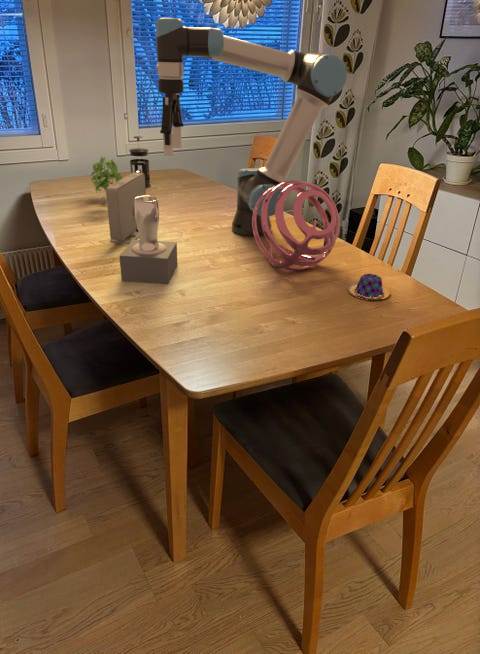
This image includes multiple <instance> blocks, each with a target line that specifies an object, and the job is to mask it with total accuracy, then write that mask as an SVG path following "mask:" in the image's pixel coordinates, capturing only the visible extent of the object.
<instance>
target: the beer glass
mask: <svg viewBox="0 0 480 654" xmlns="http://www.w3.org/2000/svg"><path fill="white" fill-rule="evenodd" d="M134 200H135V203H134V210H135V220H136V225H137V229H136V230H137V231H138V232H139V238H138V240H139V250H140V251H142V252H155V251H157V250H159V243H158V241H159V240H158V230H159V224H160V207H159V200H158V197H156V196H154V195H146V196H139V197H136V198H135V199H134Z"/></svg>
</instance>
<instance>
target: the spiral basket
mask: <svg viewBox="0 0 480 654" xmlns="http://www.w3.org/2000/svg"><path fill="white" fill-rule="evenodd" d="M303 187H307V188H308V189H305V188H303ZM277 189H283V191H282V192H281V193H280V195H279V197H278V199H277V202H276V206H275V215H274V218H275V223H276V226H277V229H278V231H279V233H280V235H281V237H282V239H283V240H284V241H285V242H286V243H287V245H289V247H291V248H292V249H293V250H291V249H289V248H287V247H285V246H284V245H283V244H278V243H277V241H276V240H275V238H274V236H273V234H272V231H271V232H270V229H269V225H268V219H267V210H268V205H269V201H270V199H271V197H272V195H273V194H274V192H275V191H276V190H277ZM292 191H294V192H296V193H298V194H297V196H296V198H295V199H294V202H293V204H292V215H293V220H294V221H295V224H296V227H298V229H299V231H300V232H302V233H303V235H305V237H304V238H303V240H302V241H298V240H297V239H296V238H295V237H294V236H293V234H292V233H291V231H290V230H289V228H288V226H287V223H286V220H285V215H284V207H285V202H286V200H287V197H288V196H289V194H290V193H291V192H292ZM265 196H266V197H265ZM264 197H265V199H264V201H263V204H262V208H261V225H262V230H263V233H264V235H263V236H264V238H265V241H266V242H267V243H268V245H269V250H267V249H266V247H265V246H264V243H263V242H262V240H261V238H260V237H261V236H259V234H258V230H257V223H256V217H257V210H258V207H259V204H260V202H261V201H262V199H263V198H264ZM316 197H317V198H320V199H321V200H322V201H323V202H324V203H325V205H326V207H327V209H328V211H329V213H330V216H331V217H330V221H329V219H328V216H327V213H326V211H325V209H324V207H323V206H322V204H321V203H320V201H319V200H318V199H317V198H316ZM306 200H308V202H309V201H310V203H312V205H313V206H314V208H315V209H316V211H317V212H318V214H319V217H320V219H321V223H322V227H323V229H322V230H318V229H316V228H317V227H316V226H317V220H315V221H314V222H313V224H312V225H311V226H310V225H308V224H307V222H306V220H305V218H304V216H303V204H304V203H305V201H306ZM340 225H341V224H340V215H339V212H338V209H337V206H336V203H335V202H334V200H333V198H332V197H331V196H330V195H329V194H328V193H327V191H325V190H324V189H323V188H322V187H320V186H319V185H317V184H315V183H311V182H308V181H303V180H298V179H297V180H296V179H291V180H287V181H285V182H282V183H279V184H278V185H276V186H274V187H272V188H270V189H268V190H267V191H266V192H265V193H264V194H263V195H262V196H261V197H260V198H259V200H258V201H257V203H256V205H255V208H254V211H253V216H252V228H253V233H254V236H253V237H254V240H255V242H256V244H257V246H258V248H259V249H260V251H261V253H262V254H263V255H264V257H266V258H267V259H268V261H269V263H270V264H271V266H272V267H275V268H277V269H283V270H287V271H292V272H293V271H294V272H295V271H296V272H297V271H298V272H300V271H305V270H308V269H311V268H312V267H314V266H316V265H317V264H319V263H320V262H322V261H324V259H326V258H328V256H329V255H330V253H332V251H333V249H334V247H335V244H336V241H337V240H338V236H339V233H340V227H341V226H340ZM311 240H324V241H323V244H322V246H320V247H311V246H309V243H310V241H311ZM273 252H274V253H275V254H276V255H277V256H278V257H279V258H280V259H282V261H279V260H277V259H276V258H274V256H273ZM293 266H299V267H293Z"/></svg>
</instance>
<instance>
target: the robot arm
mask: <svg viewBox="0 0 480 654" xmlns="http://www.w3.org/2000/svg"><path fill="white" fill-rule="evenodd" d="M155 24H156V25H155V40H156V42H155V43H156V57H157V64H156V65H155V69H157V76H158V77H159V78H158V80H157V83H158V86H157V88H158V92H159V93H162V94H165V96H164V97H162V110H161V111H162V112H161V127H160V128H161V129H160V130H159V132H160V133H159V134H162V137H163V156H164V157H166V156H167V157H174V149H182V128H183V127H184V123H183V119H182V117H183V116H182V111H181V110H182V109H181V103H180V102H181V101H180V98H181V97H180V94H182V93H183V92H184V80H183V79H182V78H184V61H183V60H184V57H200V58H205V59H209V60H213V61H217V62H221V63H224V64H229V65H232V66H237V67H239V68H240V67H241V68H244V69H248V70H252V71H255V72H259V73H262V74H263V73H264V74H268V75H270V76H275V77H278V78H281V79H282V81H283V82H285V83H288V84H291V85H292V84H293V85H295V86H297V87H296V89H295V90H296V95H297V97H296V100H295V101H294V104H293V105H292V108H291V110H290V112H289V114H288V116H287V118H286V120H285V122H284V125H283V127H282V128H281V130H280V132H279V135H278V136H277V139H276V141H275V143H274V145H273V147H272V149H271V152H270V153H269V156H268V158H267V160H266V162H265V164H264V165H263V166H262V167H258V168H249V167H248V168H241V169H239V170H238V172H237V177H236V178H237V192H236V194H237V196H236V212H235V215H234V218H233V221H232V224H231V230H232V232H233V233H235V234H237V235H240V236H247V237H254V233H253V228H252V216H253V211H254V208H255V205H256V203H257V201H258V200H259V198H260V197H261V196H262V195H263V194H264V193H265V192H266V191H267V190H268V189H270V188H272V187H274V186H276V185H278V184H279V183H282V182H285V181H288V179H287V178H288V176H289V174H290V172H291V170H292V167H293V165H294V164H295V162H296V160H297V158H298V156H299V154H300V152H301V150H302V148H303V146H304V145H305V143H306V140H307V138H308V136H309V135H310V132H311V130H312V129H313V126H314V124H315V123H316V120H317V118H318V117H319V114H320V112H321V111H322V110H323V109H324V108H328V107H329V105H330V103H331V101H332V99H333V97H334V96H336V95H337V94H339V93H340V92H342V90H343V89H344V86H345V85H346V82H347V77H348V75H347V74H348V71H347V66H346V65H345V62H344V60H343V59H342V58H341V57H339V56H338V55H336V54H333V53H330V52H324V53H323V52H303V51H302V52H301V51H297V50H293V49H291V50H290V51H288V52H286V51H284V50H280V49H276V48H272V47H269V46H265V45H261V44H258V43H253V42H249V41H247V40H242V39H238V38H236V37H231V36H228V35H224V33H223V30H222V28H216V27H215V28H214V27H193V26H192V27H191V26H190V27H188V26H184V25H183V20H182V19H181V18H172V17H160V18H157V20H156V23H155ZM282 191H283V189H277V190H276V191H275V192H274V194H273V195H272V197H271V199H270V201H269V205H268V210H267V219H268V225H269V229H270V232H271V233H272V222H271V218H270V217H273V216H275V206H276V202H277V199H278V197H279V195H280V193H281V192H282ZM265 197H266V196H265ZM265 197H264V198H263V199H262V201H261V202H260V204H259V207H258V210H257V217H256V223H257V230H258V234H259V237H261V236H264V233H263V230H262V225H261V208H262V204H263V201H264V199H265Z"/></svg>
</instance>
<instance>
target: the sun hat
mask: <svg viewBox="0 0 480 654" xmlns="http://www.w3.org/2000/svg"><path fill="white" fill-rule="evenodd" d="M355 285H357V287H356V289H355V290H356V291H357V292H356V293H358V294H360V295H363V296H365V297H370V296H371V297H378V296H379V295H382V294H383V288H382V287H383V279H382V277H381V276H379V275H377V274H374V273H364V274H363V275H362V276H360V278H359V280H358V282H357V283H353V284H351V285H350V286H349V287H348V292H349V293H350V294H351V295H352V296H354V297H357V296H355V295H354V294H353V293H351V291H350V289H351V287H352V286H355ZM383 295H384V294H383ZM360 297H361V296H360ZM360 297H357V298H358V299H362V300H364V299H363V298H364V297H363V298H360ZM378 298H379V297H378ZM368 299H369V298H368ZM368 299H366V301H367V300H368ZM368 301H369V300H368Z"/></svg>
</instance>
